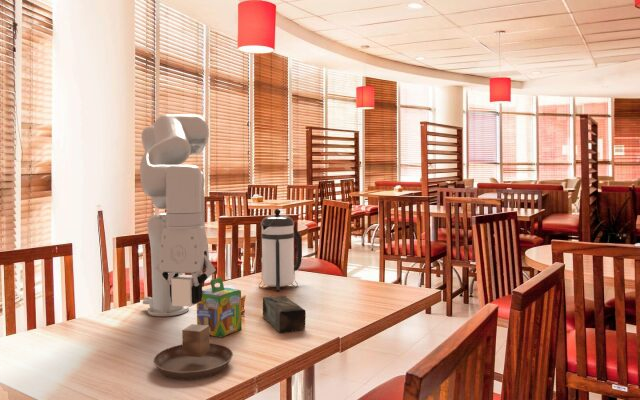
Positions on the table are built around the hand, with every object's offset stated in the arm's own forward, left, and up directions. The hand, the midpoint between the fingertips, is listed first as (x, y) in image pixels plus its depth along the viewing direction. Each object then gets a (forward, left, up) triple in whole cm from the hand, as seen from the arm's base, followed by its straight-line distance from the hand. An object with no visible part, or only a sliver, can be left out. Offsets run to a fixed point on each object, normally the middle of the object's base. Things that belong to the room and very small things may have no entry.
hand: (186, 301), depth 115 cm
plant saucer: (0, +2, -17) cm, 17 cm away
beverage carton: (+9, +40, -17) cm, 44 cm away
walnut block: (0, +4, -13) cm, 14 cm away
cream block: (0, 0, -1) cm, 1 cm away
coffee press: (-8, +83, -16) cm, 84 cm away
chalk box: (-6, +28, -16) cm, 33 cm away
